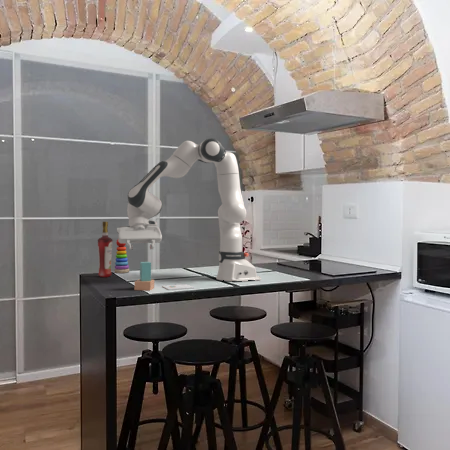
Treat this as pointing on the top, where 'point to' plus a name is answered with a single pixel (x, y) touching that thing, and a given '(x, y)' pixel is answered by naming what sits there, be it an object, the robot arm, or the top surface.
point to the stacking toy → (121, 259)
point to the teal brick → (145, 271)
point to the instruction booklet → (177, 287)
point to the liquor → (105, 253)
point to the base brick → (144, 285)
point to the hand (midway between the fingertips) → (141, 248)
